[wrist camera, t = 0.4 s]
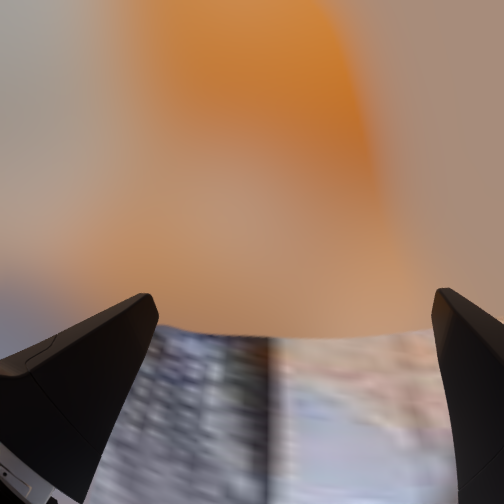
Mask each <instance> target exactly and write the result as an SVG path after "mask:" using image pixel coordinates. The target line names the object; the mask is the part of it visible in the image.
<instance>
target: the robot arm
mask: <svg viewBox="0 0 504 504" xmlns="http://www.w3.org/2000/svg"><path fill="white" fill-rule="evenodd" d="M431 318H432V324H433V330H434V337H435V343H436V350H437V357H438V363H439V368H440V372H441V376H442V381H443V385H444V390H445V395H446V400H447V405H448V410H449V416H450V422H451V428H452V434H453V442H454V449H455V458H456V468H457V480H458V490H459V491H458V504H504V324H502V323H501V322H500V321H498V320H497V319H495V318H494V317H493V316H491V315H490V314H488V313H487V312H485V311H484V310H482V309H481V308H479V307H478V306H477V305H475V304H474V303H472V302H471V301H469V300H468V299H466V298H465V297H463V296H462V295H460V294H458V293H457V292H455V291H454V290H452V289H450V288H439V289H437V291H436V293H435V298H434V303H433V308H432V314H431ZM158 319H159V314H158V311H157V308H156V305H155V303H154V300H153V297H152V296H151V295H150V294H148V293H139V294H137V295H135V296H133V297H131V298H129V299H127V300H124V301H123V302H120V303H118V304H116V305H114V306H112V307H110V308H108V309H106V310H104V311H102V312H100V313H98V314H96V315H94V316H92V317H90V318H88V319H86V320H84V321H82V322H80V323H78V324H76V325H74V326H72V327H70V328H68V329H66V330H64V331H62V332H60V333H58V335H57V334H56V335H54V336H52V337H50V338H48V339H46V340H44V341H42V342H40V343H38V344H35V345H33V346H31V347H29V348H27V349H24V350H22V351H20V352H17V353H15V354H13V355H11V356H8V357H6V358H4V359H1V360H0V504H58V503H57V500H56V499H54V498H53V497H52V496H51V495H52V493H53V492H54V490H55V488H56V489H58V490H59V491H61V492H62V493H64V494H65V495H67V496H68V497H70V498H71V499H73V500H75V501H76V502H78V503H79V504H83V502H84V500H85V498H86V495H87V492H88V490H89V487H90V484H91V482H92V479H93V477H94V474H95V472H96V469H97V466H98V464H99V461H100V459H101V457H102V456H101V455H102V454H103V451H104V449H105V446H106V444H107V441H108V439H109V437H110V434H111V432H112V430H113V427H114V425H115V423H116V420H117V418H118V416H119V413H120V411H121V409H122V406H123V404H124V402H125V400H126V397H127V395H128V393H129V391H130V389H131V386H132V384H133V382H134V380H135V378H136V375H137V373H138V371H139V369H140V367H141V365H142V362H143V360H144V358H145V356H146V353H147V350H148V348H149V345H150V342H151V339H152V336H153V334H154V331H155V328H156V325H157V322H158Z"/></svg>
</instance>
